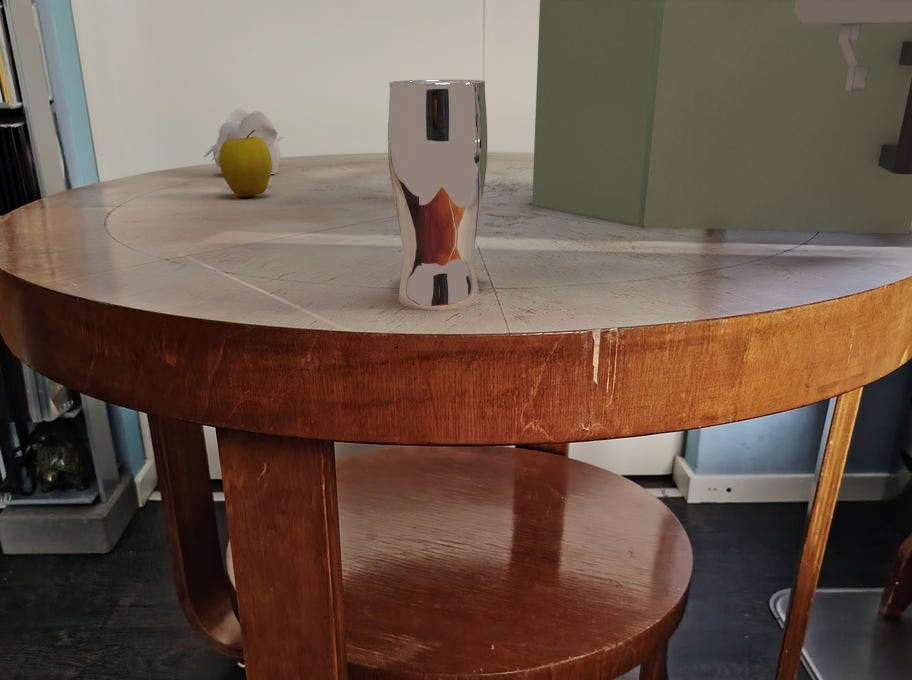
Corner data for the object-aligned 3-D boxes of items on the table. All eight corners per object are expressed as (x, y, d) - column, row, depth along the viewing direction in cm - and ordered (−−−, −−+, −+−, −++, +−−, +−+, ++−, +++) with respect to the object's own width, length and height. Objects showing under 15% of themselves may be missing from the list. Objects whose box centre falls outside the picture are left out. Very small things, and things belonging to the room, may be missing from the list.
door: (924, 258, 78) (1000, -62, 67) (643, 250, 83) (672, -53, 72) (903, 242, 84) (970, -54, 73) (642, 235, 89) (668, -46, 78)
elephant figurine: (200, 173, 136) (192, 109, 132) (276, 168, 141) (271, 106, 137) (218, 181, 128) (210, 113, 124) (297, 175, 133) (292, 109, 129)
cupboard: (788, 211, 101) (829, -38, 90) (636, 237, 89) (662, -47, 78) (678, 194, 113) (702, -28, 102) (531, 215, 100) (540, -35, 89)
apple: (285, 195, 116) (279, 128, 112) (247, 202, 111) (240, 132, 107) (251, 191, 119) (245, 126, 115) (213, 197, 115) (205, 130, 111)
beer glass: (428, 285, 72) (425, 78, 65) (502, 297, 68) (507, 79, 62) (373, 304, 67) (364, 82, 60) (451, 318, 63) (450, 84, 57)
